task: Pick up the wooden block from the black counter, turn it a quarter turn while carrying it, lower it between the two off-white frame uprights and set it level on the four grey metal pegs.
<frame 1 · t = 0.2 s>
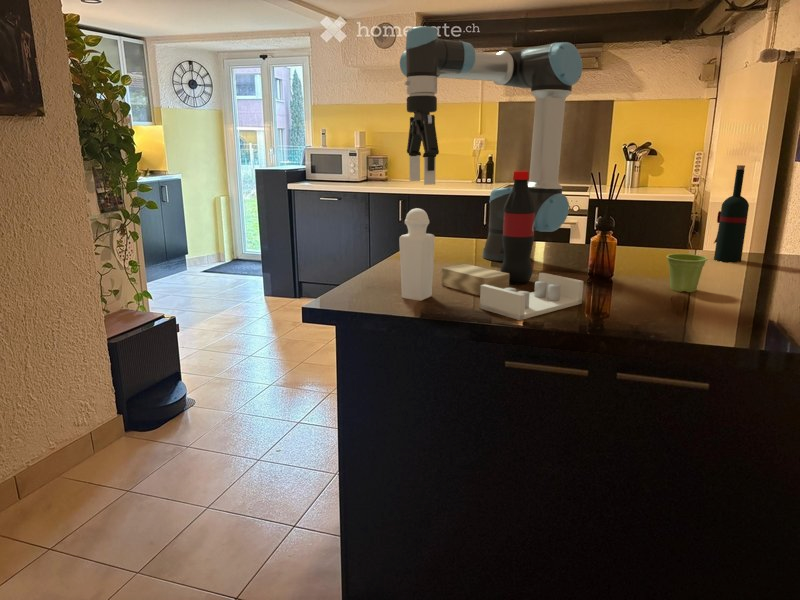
hand: (421, 182, 150), 27 cm above the countertop, fingers open, 13 cm apart
white square bottle: (416, 297, 145), on the countertop
plant pot: (682, 290, 152), on the countertop
cradle: (531, 305, 137), on the countertop
cola bottle: (515, 282, 161), on the countertop
wooden block: (474, 289, 154), on the countertop
wine bottle: (724, 260, 190), on the countertop
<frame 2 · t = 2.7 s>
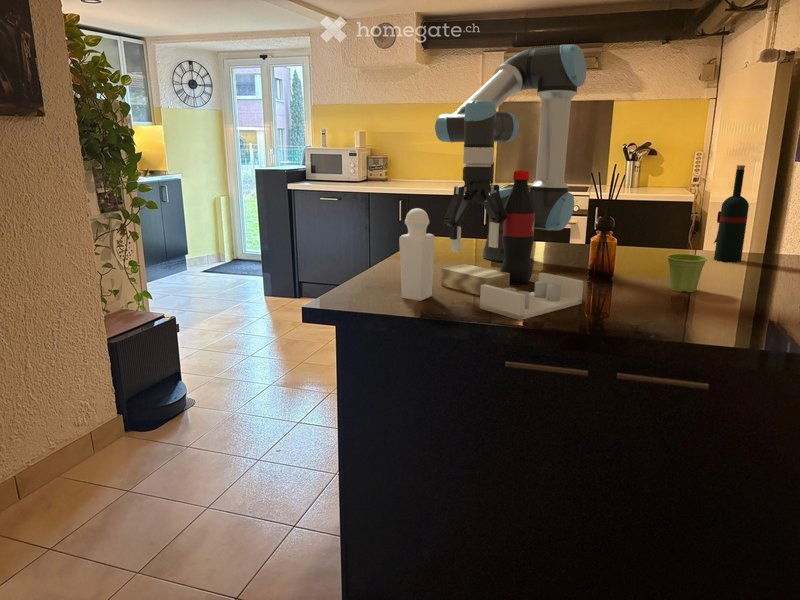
hand: (474, 249, 151), 10 cm above the countertop, fingers open, 13 cm apart
nothing on the countertop moved.
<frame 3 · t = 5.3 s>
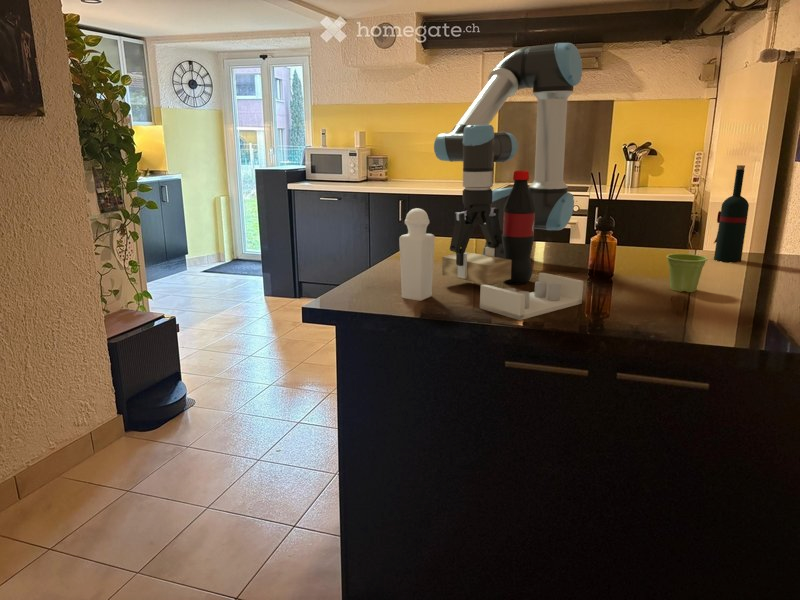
hand: (476, 274, 154), 4 cm above the countertop, fingers closed on wooden block, 9 cm apart
wooden block: (475, 276, 154), point 3 cm above the countertop, touching gripper
everything else where it was.
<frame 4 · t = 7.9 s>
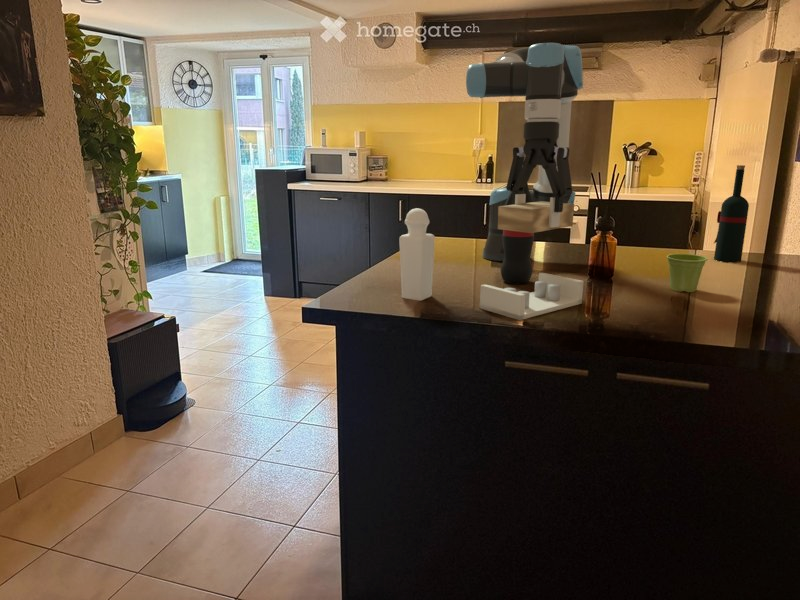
hand: (535, 224, 132), 19 cm above the countertop, fingers closed on wooden block, 9 cm apart
wooden block: (535, 227, 132), point 18 cm above the countertop, touching gripper
everything else where it was.
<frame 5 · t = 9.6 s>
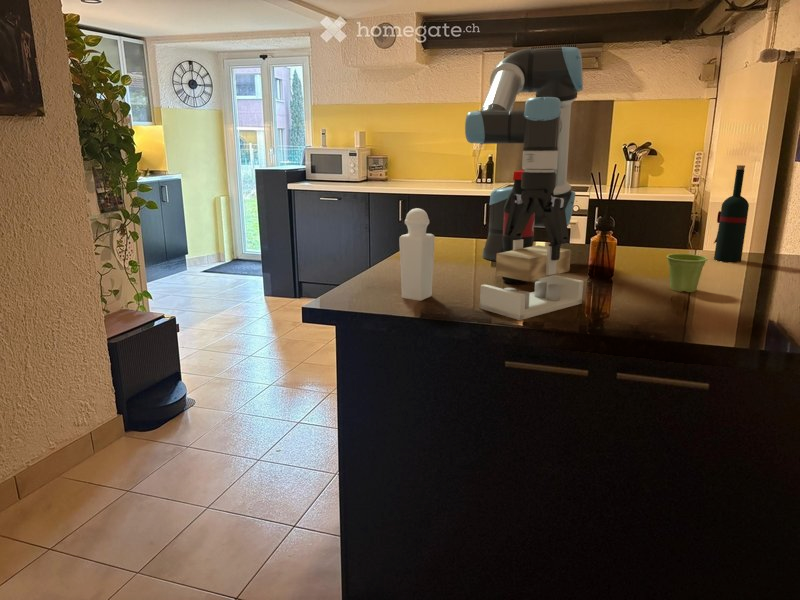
hand: (533, 270, 135), 9 cm above the countertop, fingers closed on wooden block, 9 cm apart
wooden block: (533, 273, 135), point 8 cm above the countertop, touching gripper
everything else where it was.
when the fingers open (6 cm above the countertop, at t = 10.7 s): wooden block stays where it is, resting on cradle.
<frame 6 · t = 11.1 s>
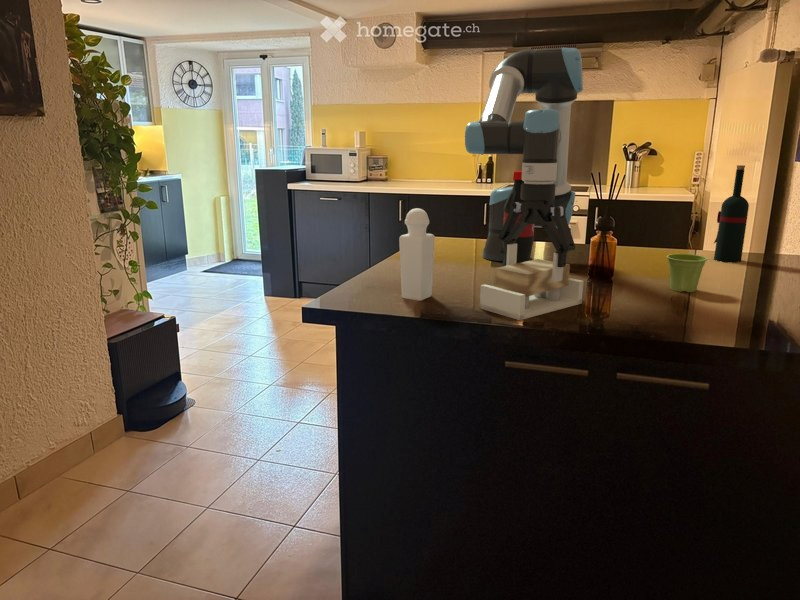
hand: (533, 275, 135), 7 cm above the countertop, fingers open, 13 cm apart
wooden block: (532, 287, 136), point 4 cm above the countertop, touching cradle
everything else where it was.
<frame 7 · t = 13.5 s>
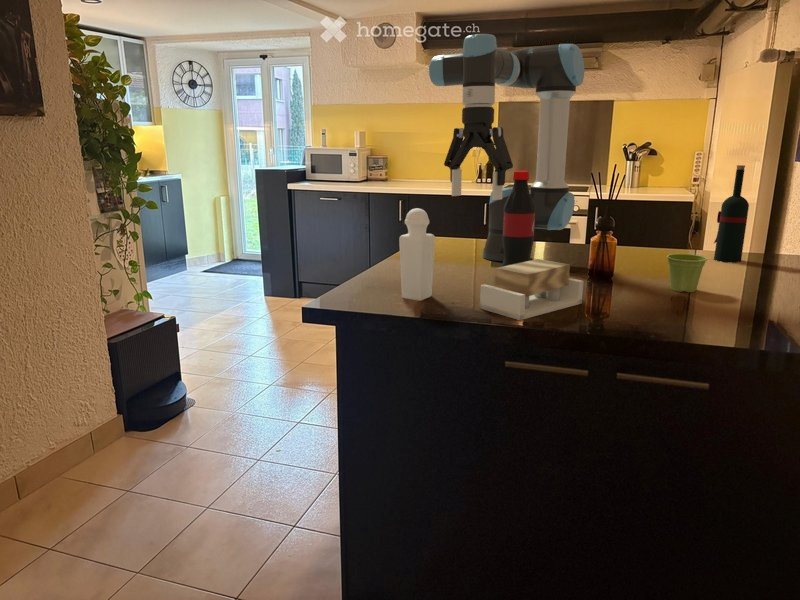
hand: (476, 197, 143), 24 cm above the countertop, fingers open, 13 cm apart
nothing on the countertop moved.
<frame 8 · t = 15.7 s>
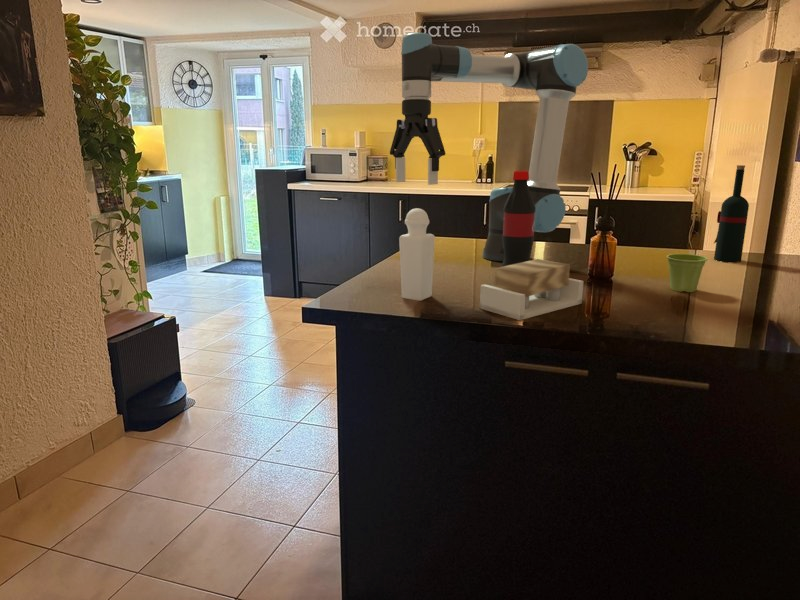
hand: (416, 183, 156), 27 cm above the countertop, fingers open, 13 cm apart
nothing on the countertop moved.
at the end: wooden block 0.1 cm off-centre on the cradle, point 4.5 cm above the cradle's base; wooden block tilted 0°; the gripper is holding nothing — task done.
